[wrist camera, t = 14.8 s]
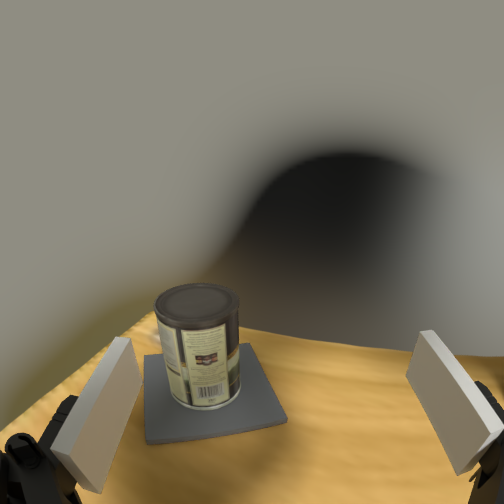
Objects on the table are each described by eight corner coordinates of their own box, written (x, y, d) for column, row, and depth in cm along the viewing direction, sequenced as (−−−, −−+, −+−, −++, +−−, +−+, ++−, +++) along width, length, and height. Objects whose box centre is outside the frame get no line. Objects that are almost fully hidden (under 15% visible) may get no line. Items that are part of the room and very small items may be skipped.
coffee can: (211, 355, 48) (205, 275, 43) (256, 387, 41) (257, 301, 36) (156, 381, 41) (139, 297, 36) (197, 423, 34) (182, 333, 29)
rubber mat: (249, 347, 52) (249, 342, 51) (287, 422, 35) (287, 417, 35) (145, 360, 47) (144, 355, 47) (147, 444, 31) (145, 440, 30)
